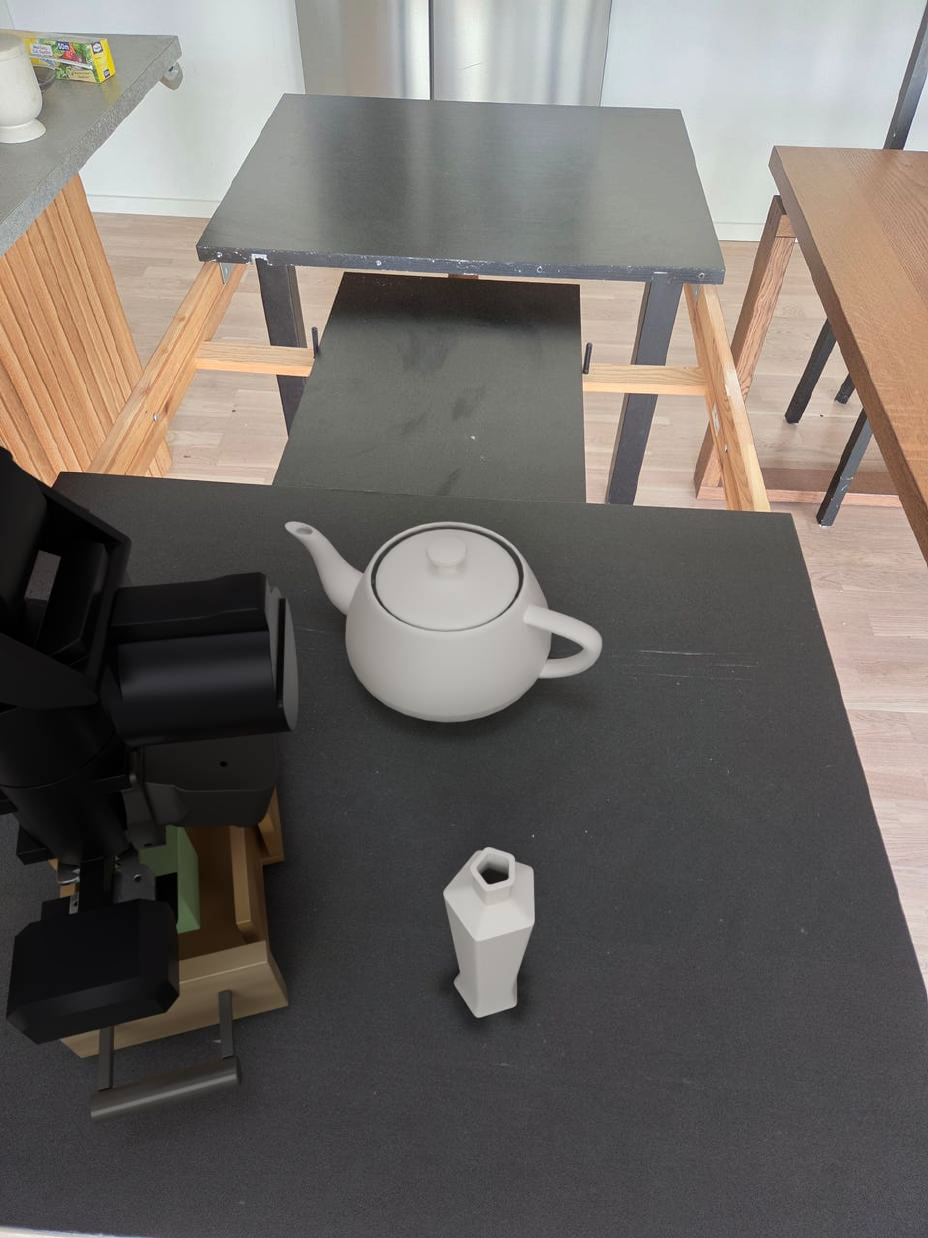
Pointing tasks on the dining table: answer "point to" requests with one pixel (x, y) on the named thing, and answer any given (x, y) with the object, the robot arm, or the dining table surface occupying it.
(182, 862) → the block
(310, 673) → the dining table surface
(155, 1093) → the drawer
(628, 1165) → the dining table surface
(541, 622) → the teapot
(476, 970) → the white faceted vase
